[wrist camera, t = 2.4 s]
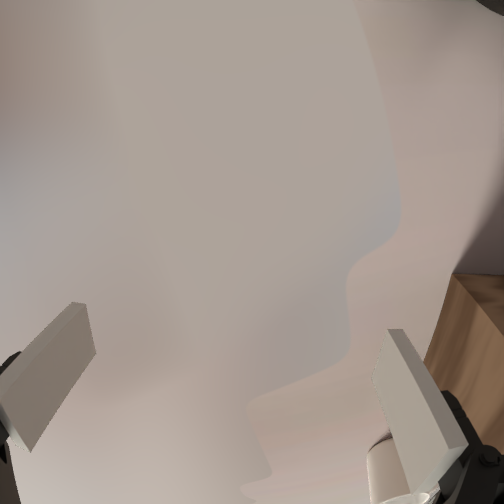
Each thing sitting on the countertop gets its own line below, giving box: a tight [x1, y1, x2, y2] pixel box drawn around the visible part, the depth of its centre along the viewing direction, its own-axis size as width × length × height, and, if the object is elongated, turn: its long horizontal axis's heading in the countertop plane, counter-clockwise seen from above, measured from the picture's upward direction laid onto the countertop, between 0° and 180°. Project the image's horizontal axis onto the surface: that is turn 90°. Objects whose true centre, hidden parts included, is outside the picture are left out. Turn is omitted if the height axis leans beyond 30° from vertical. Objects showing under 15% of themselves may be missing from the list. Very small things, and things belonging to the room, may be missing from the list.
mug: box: [367, 438, 439, 504], centre depth 33 cm, size 12×8×10 cm
